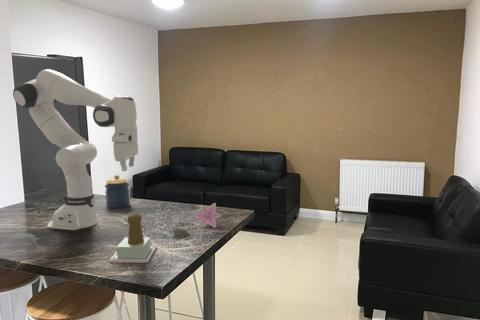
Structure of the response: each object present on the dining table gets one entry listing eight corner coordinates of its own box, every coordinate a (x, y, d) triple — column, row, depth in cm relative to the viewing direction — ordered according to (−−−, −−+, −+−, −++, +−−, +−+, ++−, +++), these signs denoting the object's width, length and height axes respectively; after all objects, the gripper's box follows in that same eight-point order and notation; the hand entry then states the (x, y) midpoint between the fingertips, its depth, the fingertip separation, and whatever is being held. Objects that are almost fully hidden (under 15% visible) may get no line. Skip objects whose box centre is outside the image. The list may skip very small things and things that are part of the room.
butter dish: (110, 262, 145) (109, 249, 144) (122, 247, 158) (121, 235, 158) (147, 262, 144) (147, 249, 143) (156, 247, 158) (156, 235, 157)
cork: (129, 239, 153) (127, 212, 151) (145, 238, 154) (143, 211, 152) (126, 245, 147) (124, 217, 145) (142, 244, 148) (141, 216, 146)
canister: (126, 209, 212) (124, 177, 209) (102, 209, 212) (100, 177, 209) (133, 202, 224) (131, 172, 222) (110, 202, 225) (109, 172, 222)
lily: (190, 226, 187) (191, 212, 181) (203, 211, 195) (204, 198, 189) (212, 237, 183) (213, 223, 177) (224, 221, 191) (225, 207, 185)
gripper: (126, 133, 170) (128, 164, 172) (110, 138, 150) (112, 173, 152) (141, 133, 170) (142, 164, 172) (126, 138, 150) (128, 173, 152)
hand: (128, 168), depth 162 cm, fingers open, 8 cm apart
